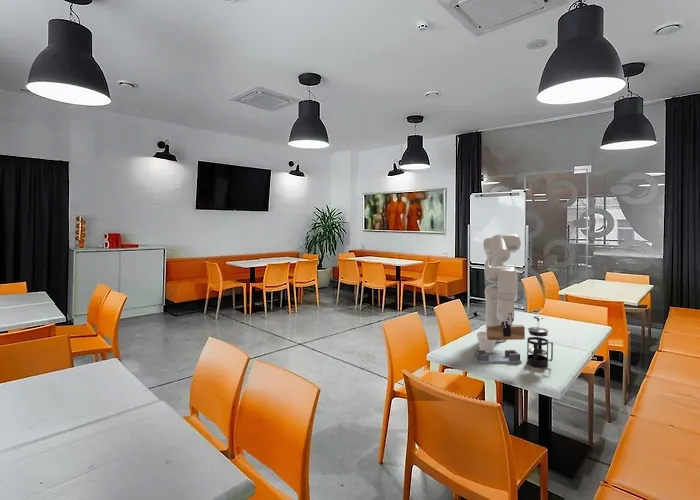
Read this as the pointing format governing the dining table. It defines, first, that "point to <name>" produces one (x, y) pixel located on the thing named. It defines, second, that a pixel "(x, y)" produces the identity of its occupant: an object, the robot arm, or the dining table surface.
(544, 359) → the french press
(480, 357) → the cradle
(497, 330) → the slat
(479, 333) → the cup
